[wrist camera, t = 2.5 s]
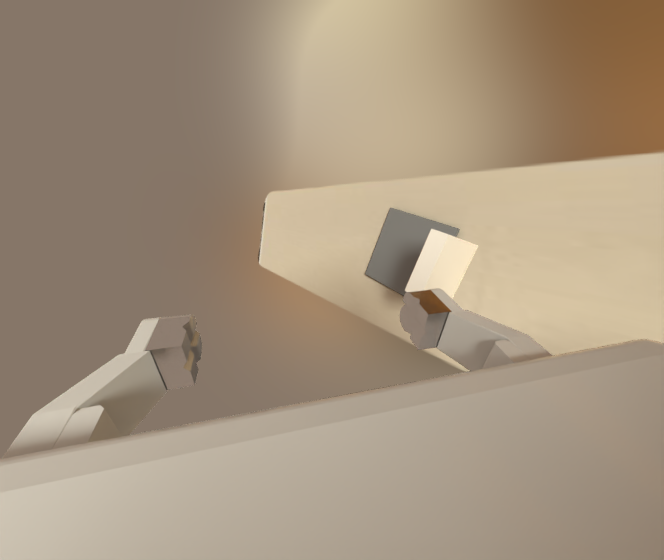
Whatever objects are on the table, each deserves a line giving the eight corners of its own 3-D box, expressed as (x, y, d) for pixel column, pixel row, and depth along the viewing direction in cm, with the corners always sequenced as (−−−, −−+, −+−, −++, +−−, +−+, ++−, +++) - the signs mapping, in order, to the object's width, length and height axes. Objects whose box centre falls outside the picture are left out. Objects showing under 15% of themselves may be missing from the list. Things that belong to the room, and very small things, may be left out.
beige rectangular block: (478, 245, 42) (448, 234, 34) (452, 298, 44) (419, 298, 36) (461, 240, 43) (429, 227, 36) (437, 290, 46) (402, 289, 38)
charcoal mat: (459, 229, 44) (458, 228, 43) (424, 306, 47) (422, 306, 47) (392, 208, 53) (390, 207, 52) (366, 274, 57) (365, 274, 56)
